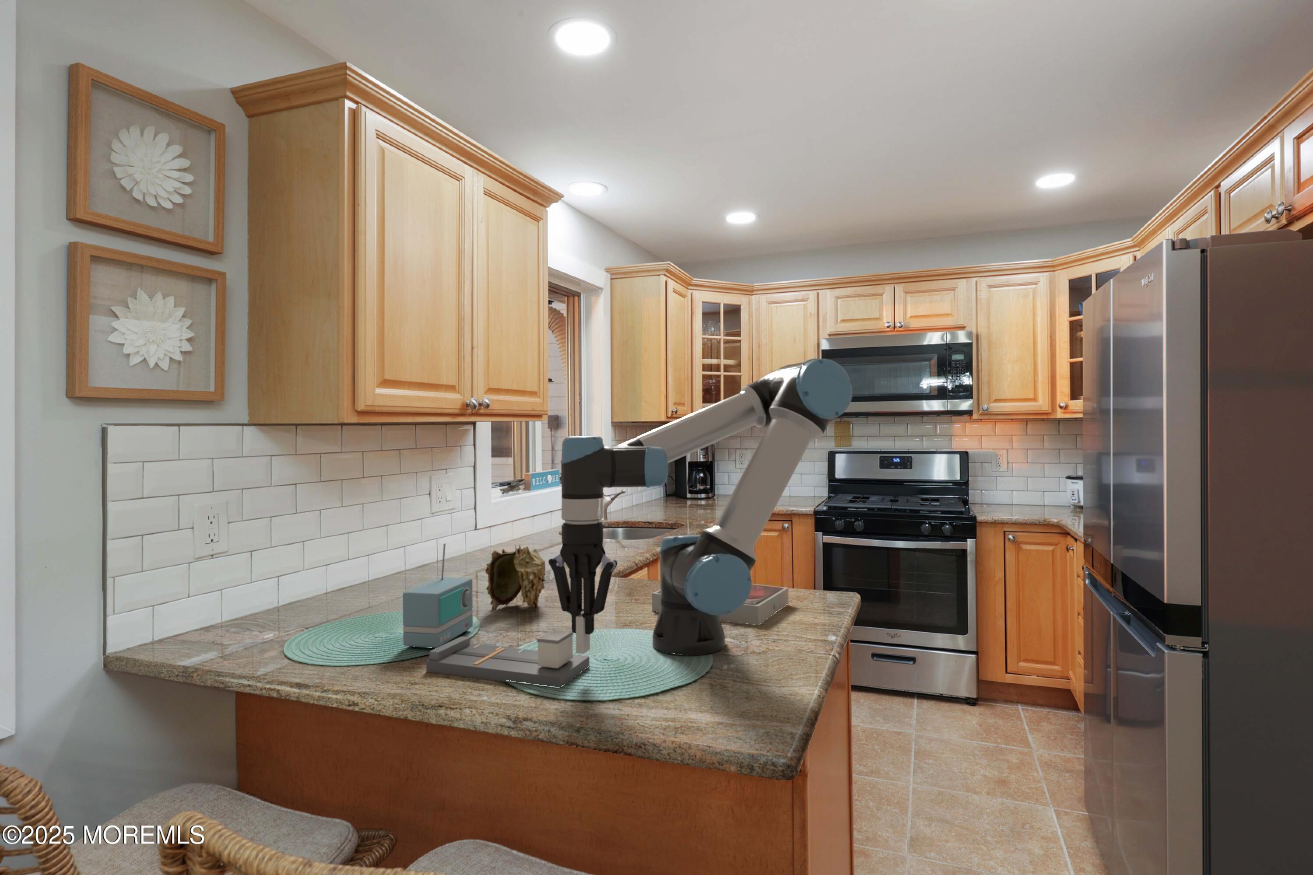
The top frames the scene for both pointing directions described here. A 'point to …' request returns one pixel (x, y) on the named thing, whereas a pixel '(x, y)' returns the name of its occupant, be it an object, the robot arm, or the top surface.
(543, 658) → the fader tab
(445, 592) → the radio
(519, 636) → the top surface
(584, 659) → the fader console
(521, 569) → the seashell
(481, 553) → the top surface
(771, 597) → the product packaging
